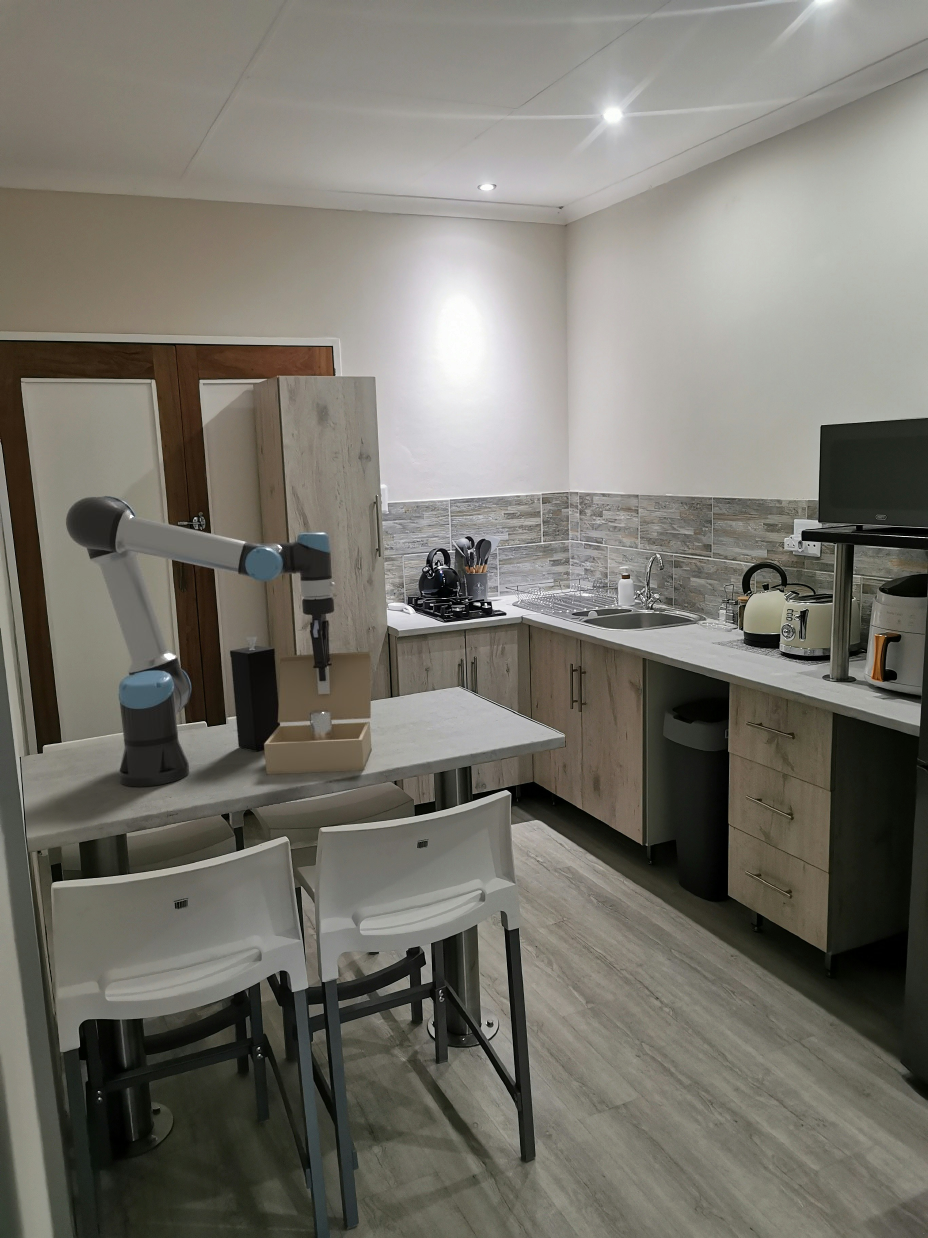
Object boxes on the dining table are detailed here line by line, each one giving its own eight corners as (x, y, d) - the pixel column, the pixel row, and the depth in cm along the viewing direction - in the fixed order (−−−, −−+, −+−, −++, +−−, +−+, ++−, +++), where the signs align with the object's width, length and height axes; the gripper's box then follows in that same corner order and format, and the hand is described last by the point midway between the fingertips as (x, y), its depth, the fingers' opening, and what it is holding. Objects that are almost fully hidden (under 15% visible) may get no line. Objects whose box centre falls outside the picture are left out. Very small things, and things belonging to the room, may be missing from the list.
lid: (279, 655, 227) (281, 660, 229) (275, 719, 220) (278, 722, 223) (369, 651, 227) (371, 655, 229) (369, 714, 220) (370, 718, 222)
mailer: (266, 774, 207) (264, 744, 206) (281, 754, 223) (279, 725, 222) (363, 769, 207) (361, 739, 206) (371, 749, 223) (369, 721, 222)
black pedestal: (282, 744, 231) (273, 635, 228) (256, 752, 226) (246, 639, 222) (264, 740, 237) (255, 632, 233) (238, 747, 231) (228, 637, 227)
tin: (310, 758, 216) (307, 715, 215) (314, 752, 221) (311, 710, 220) (332, 757, 216) (329, 714, 215) (335, 751, 221) (332, 709, 219)
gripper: (328, 599, 214) (335, 698, 217) (337, 593, 227) (343, 687, 230) (296, 600, 214) (304, 700, 218) (307, 594, 227) (314, 688, 230)
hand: (324, 693), depth 224 cm, fingers closed
